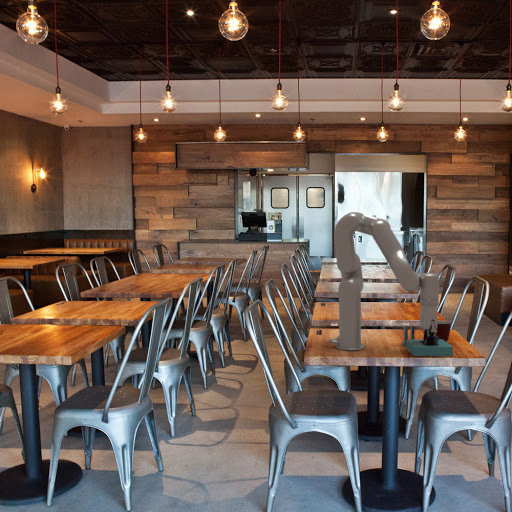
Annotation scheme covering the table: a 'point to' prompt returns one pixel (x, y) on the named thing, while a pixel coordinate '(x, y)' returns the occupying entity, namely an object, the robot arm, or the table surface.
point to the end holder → (429, 348)
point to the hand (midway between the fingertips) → (428, 344)
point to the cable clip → (412, 331)
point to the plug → (435, 339)
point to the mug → (443, 330)
